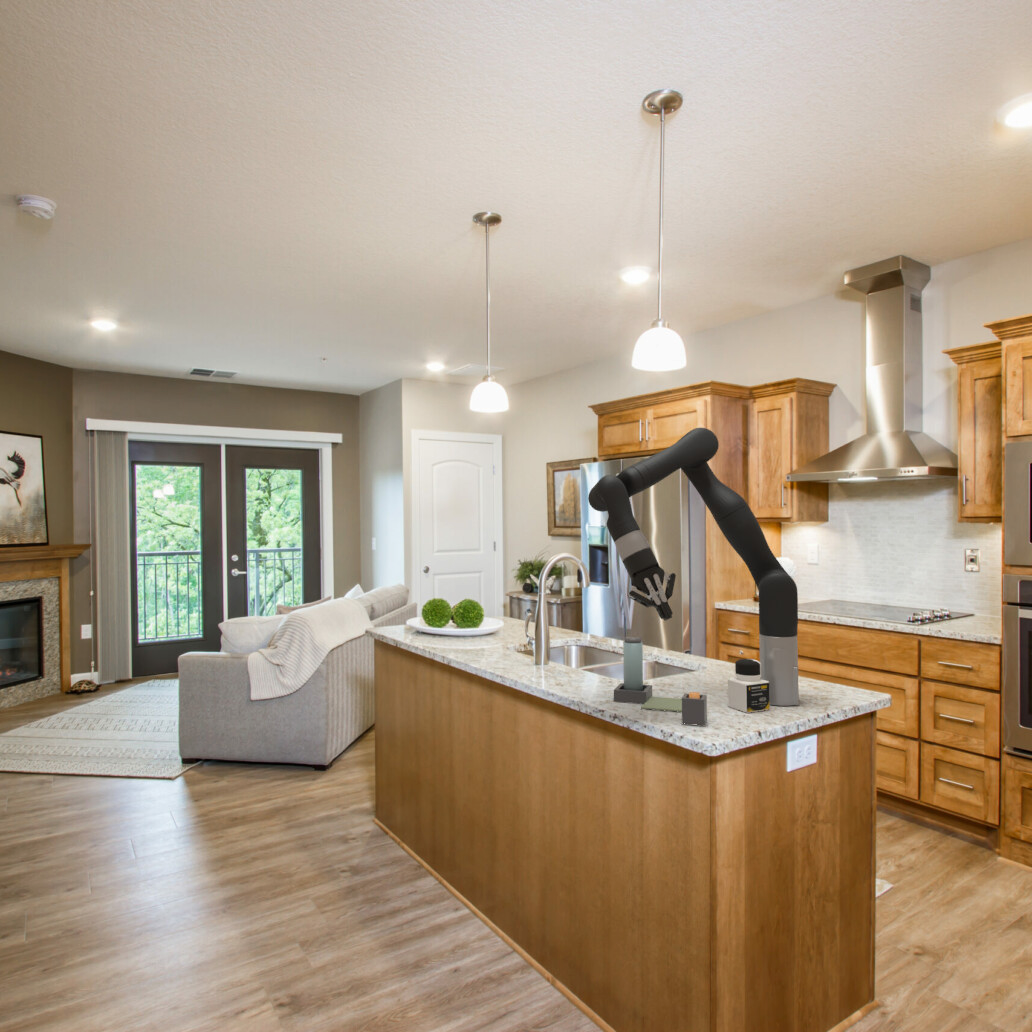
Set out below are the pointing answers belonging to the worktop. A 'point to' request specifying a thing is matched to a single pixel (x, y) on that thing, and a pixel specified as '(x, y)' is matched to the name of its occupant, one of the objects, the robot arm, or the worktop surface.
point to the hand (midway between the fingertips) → (668, 619)
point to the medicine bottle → (748, 687)
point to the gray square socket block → (694, 710)
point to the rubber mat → (663, 704)
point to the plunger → (694, 695)
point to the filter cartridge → (633, 663)
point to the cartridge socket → (632, 694)
